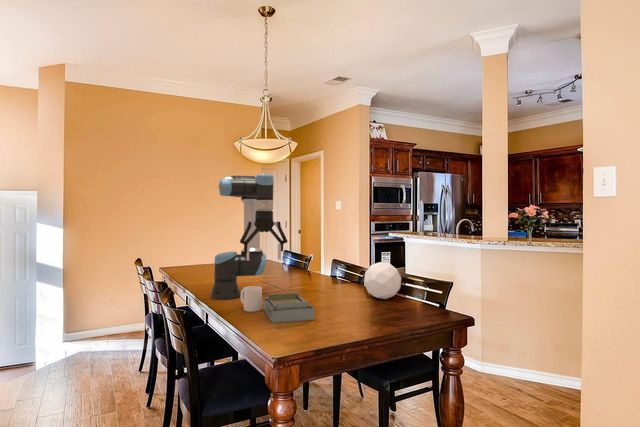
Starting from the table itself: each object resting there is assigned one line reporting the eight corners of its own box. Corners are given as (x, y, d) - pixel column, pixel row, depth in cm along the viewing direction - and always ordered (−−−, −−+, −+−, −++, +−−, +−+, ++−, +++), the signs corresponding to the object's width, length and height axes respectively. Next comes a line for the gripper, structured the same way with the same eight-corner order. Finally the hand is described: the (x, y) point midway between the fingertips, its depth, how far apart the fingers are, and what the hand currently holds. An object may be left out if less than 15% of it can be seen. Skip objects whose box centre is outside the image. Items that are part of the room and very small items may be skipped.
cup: (252, 313, 177) (253, 290, 177) (234, 308, 184) (234, 287, 184) (265, 309, 184) (265, 287, 184) (246, 305, 191) (247, 284, 191)
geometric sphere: (382, 308, 216) (393, 276, 225) (401, 303, 198) (412, 268, 207) (353, 291, 213) (365, 260, 222) (369, 285, 196) (382, 251, 205)
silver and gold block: (263, 309, 183) (263, 293, 183) (301, 307, 188) (301, 291, 188) (272, 323, 162) (272, 305, 162) (314, 319, 167) (314, 302, 167)
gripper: (235, 210, 161) (235, 261, 162) (294, 210, 169) (294, 260, 169) (233, 209, 168) (233, 259, 169) (290, 210, 176) (289, 257, 176)
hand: (263, 259), depth 169 cm, fingers open, 13 cm apart
